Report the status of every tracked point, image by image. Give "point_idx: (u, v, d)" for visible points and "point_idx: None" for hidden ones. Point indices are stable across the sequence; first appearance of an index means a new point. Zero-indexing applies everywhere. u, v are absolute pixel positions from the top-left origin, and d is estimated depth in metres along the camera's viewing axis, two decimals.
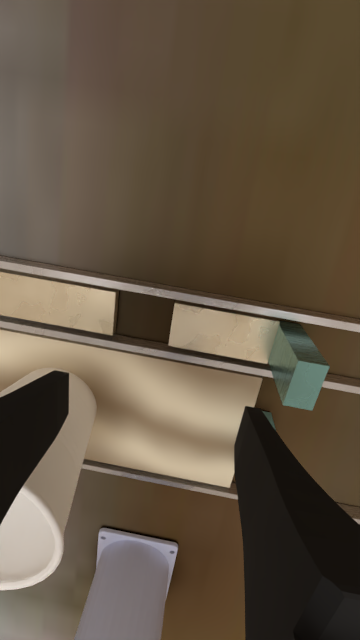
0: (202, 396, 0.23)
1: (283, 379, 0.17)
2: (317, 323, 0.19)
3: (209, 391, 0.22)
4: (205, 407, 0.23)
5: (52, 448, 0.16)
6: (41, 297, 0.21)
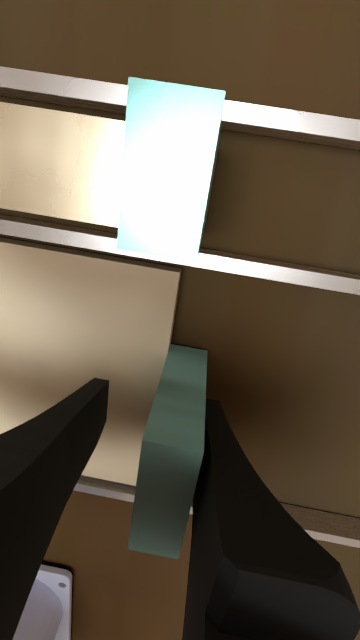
0: (74, 316, 0.12)
1: None
2: (245, 120, 0.09)
3: (84, 306, 0.12)
4: (83, 338, 0.12)
5: None
6: None
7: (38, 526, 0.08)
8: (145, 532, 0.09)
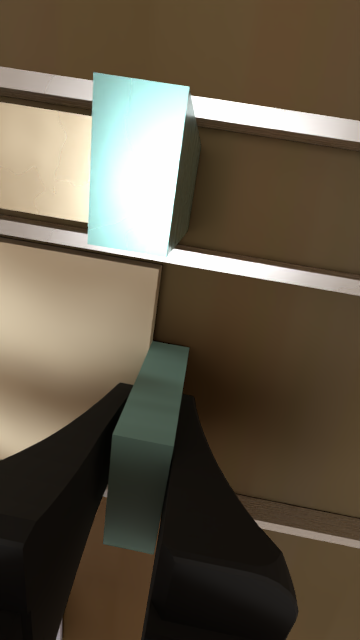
0: (55, 312, 0.12)
1: None
2: (225, 118, 0.09)
3: (65, 302, 0.12)
4: (64, 334, 0.12)
5: None
6: None
7: (77, 534, 0.08)
8: (119, 527, 0.09)
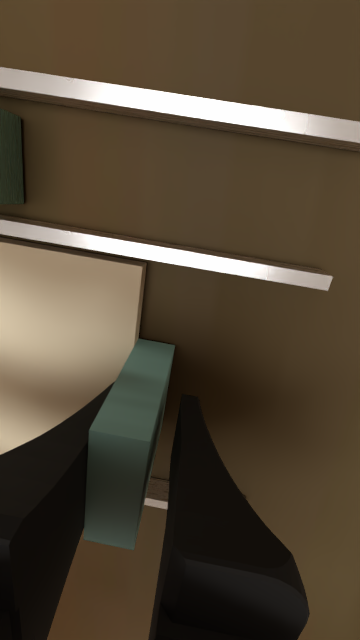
0: (40, 310, 0.12)
1: None
2: (19, 87, 0.09)
3: (50, 300, 0.12)
4: (50, 332, 0.12)
5: None
6: None
7: (68, 532, 0.08)
8: (99, 523, 0.09)
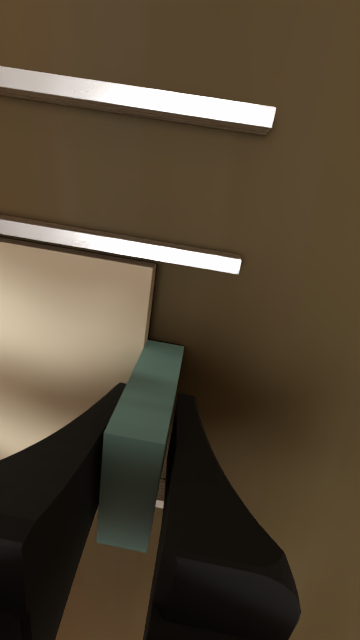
0: (49, 311, 0.12)
1: None
2: None
3: (59, 301, 0.12)
4: (59, 333, 0.12)
5: None
6: None
7: (76, 534, 0.08)
8: (112, 525, 0.09)
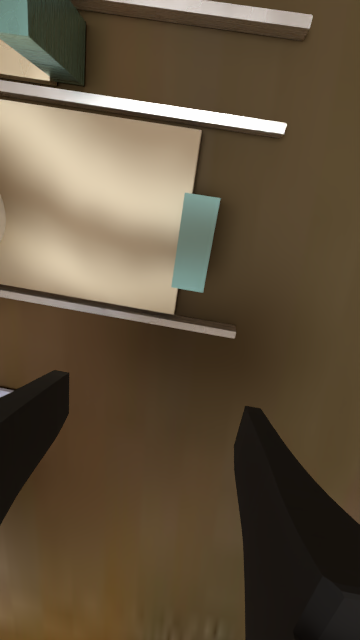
0: (128, 168, 0.18)
1: None
2: None
3: (136, 159, 0.18)
4: (133, 185, 0.18)
5: None
6: None
7: None
8: (183, 270, 0.15)
